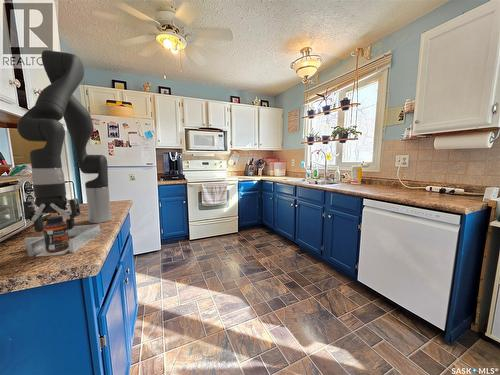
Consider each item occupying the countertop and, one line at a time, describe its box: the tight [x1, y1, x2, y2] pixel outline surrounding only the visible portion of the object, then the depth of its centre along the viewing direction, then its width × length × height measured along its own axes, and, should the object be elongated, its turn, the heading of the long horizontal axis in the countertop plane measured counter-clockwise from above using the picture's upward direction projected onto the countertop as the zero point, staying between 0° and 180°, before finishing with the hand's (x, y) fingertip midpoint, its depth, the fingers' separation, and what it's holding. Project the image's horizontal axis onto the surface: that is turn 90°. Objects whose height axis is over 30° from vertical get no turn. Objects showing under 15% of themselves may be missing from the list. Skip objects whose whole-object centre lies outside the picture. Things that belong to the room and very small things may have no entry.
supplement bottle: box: [43, 215, 70, 252], centre depth 69 cm, size 6×6×11 cm
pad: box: [35, 247, 69, 257], centre depth 70 cm, size 8×8×1 cm
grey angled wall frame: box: [23, 224, 101, 257], centre depth 75 cm, size 18×17×4 cm
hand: (55, 230), depth 69 cm, fingers open, 8 cm apart
